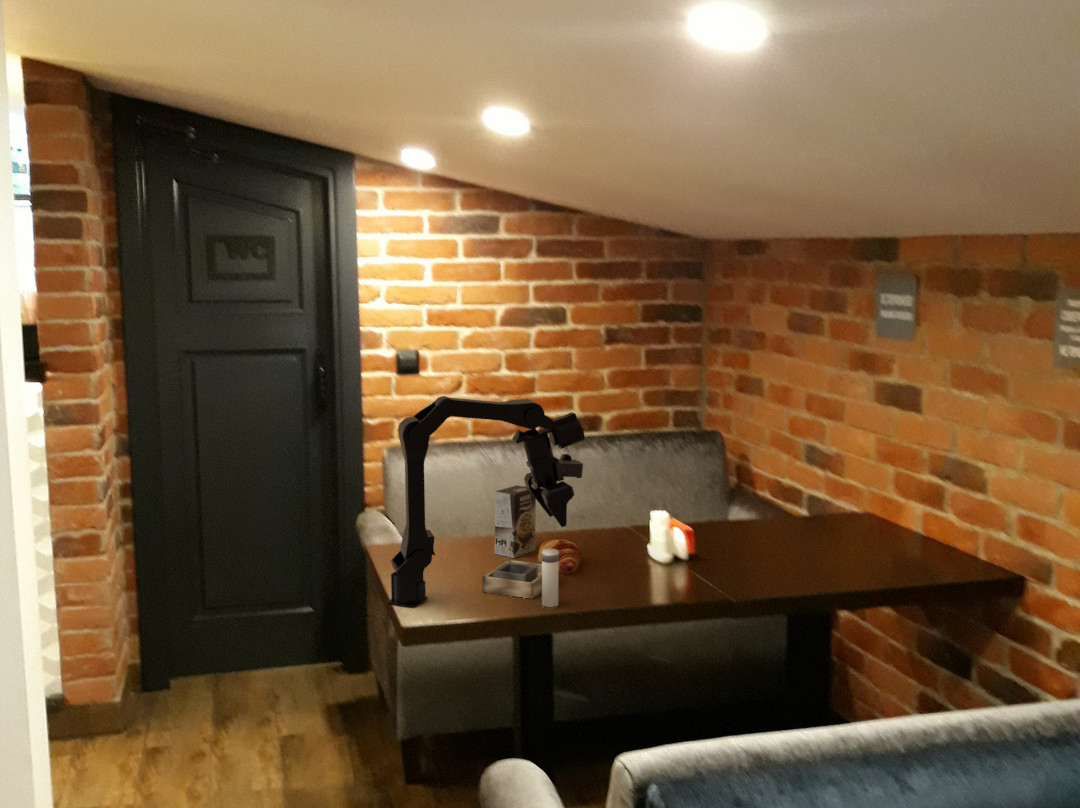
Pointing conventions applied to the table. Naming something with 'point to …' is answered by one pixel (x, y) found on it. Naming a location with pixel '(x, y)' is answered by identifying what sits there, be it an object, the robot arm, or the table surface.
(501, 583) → the box
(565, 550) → the croissant
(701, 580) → the table surface
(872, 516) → the table surface
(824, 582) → the table surface
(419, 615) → the table surface
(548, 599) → the white banded cylinder
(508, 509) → the coffee box
